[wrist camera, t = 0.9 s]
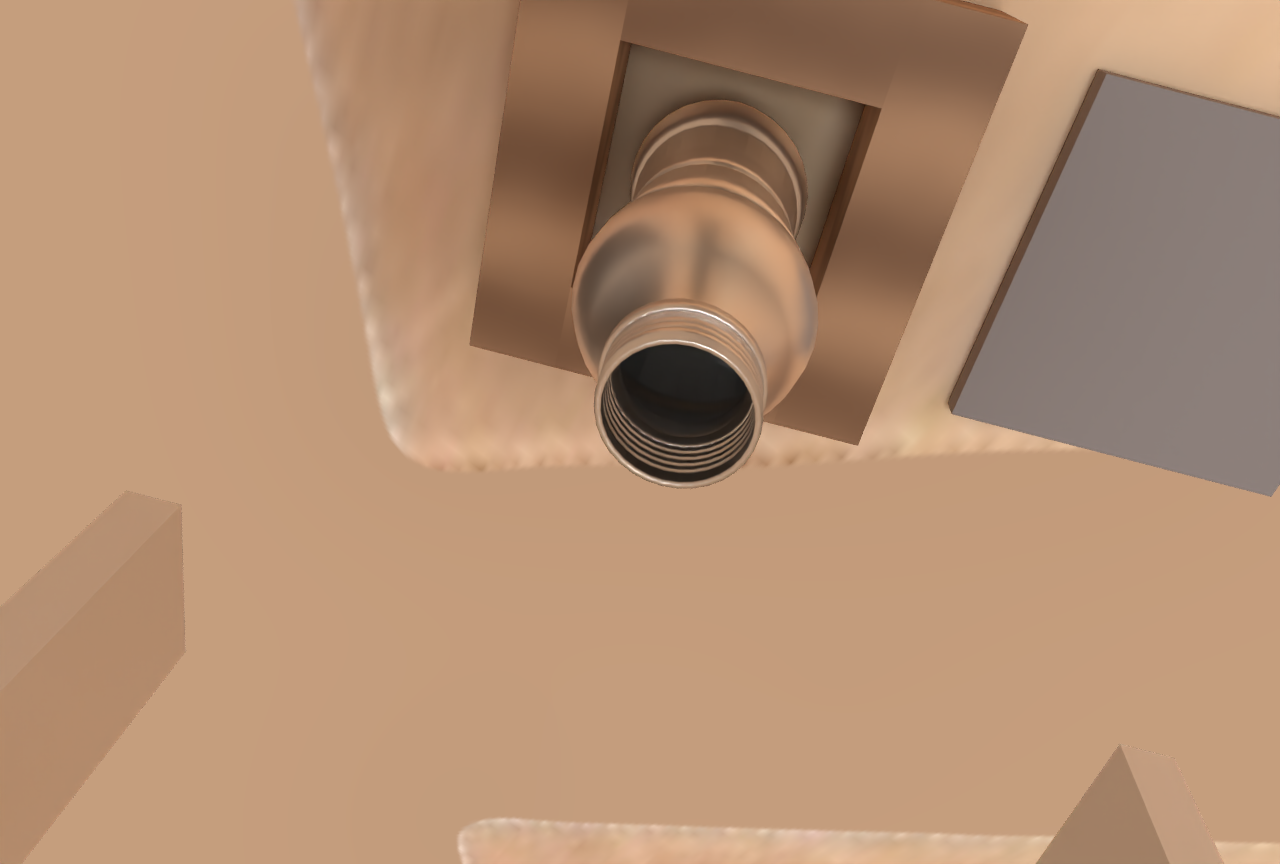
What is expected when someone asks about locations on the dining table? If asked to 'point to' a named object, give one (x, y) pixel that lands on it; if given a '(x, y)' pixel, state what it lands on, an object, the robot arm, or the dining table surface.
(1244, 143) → the charcoal mat
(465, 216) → the dining table surface
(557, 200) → the walnut block
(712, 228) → the plastic bottle
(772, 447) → the dining table surface
